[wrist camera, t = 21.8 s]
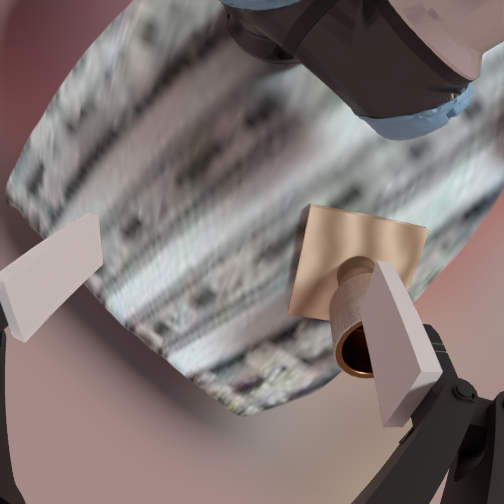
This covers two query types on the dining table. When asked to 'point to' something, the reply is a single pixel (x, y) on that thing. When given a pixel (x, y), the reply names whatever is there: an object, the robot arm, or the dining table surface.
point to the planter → (350, 327)
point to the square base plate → (349, 254)
